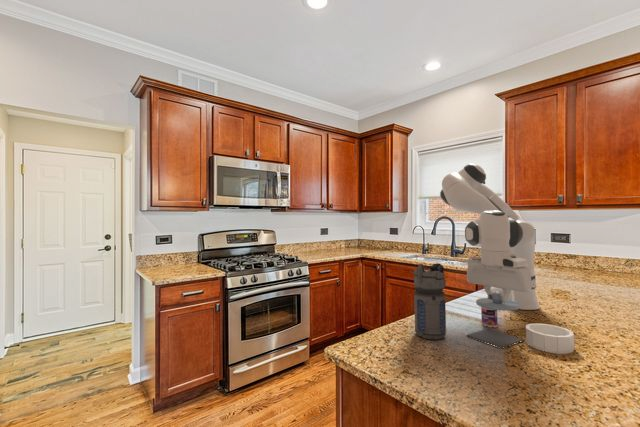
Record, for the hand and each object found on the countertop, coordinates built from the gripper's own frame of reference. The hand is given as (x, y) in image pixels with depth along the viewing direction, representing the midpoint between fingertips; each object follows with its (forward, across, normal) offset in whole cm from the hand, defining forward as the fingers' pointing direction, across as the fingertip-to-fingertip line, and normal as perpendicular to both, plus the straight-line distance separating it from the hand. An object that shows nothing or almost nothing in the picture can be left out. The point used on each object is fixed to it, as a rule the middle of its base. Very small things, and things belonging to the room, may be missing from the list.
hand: (497, 300), depth 104 cm
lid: (+1, 0, 0) cm, 1 cm away
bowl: (+13, +11, +8) cm, 19 cm away
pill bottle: (+13, -10, +11) cm, 20 cm away
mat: (+13, -1, -1) cm, 13 cm away
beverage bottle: (+13, -14, -15) cm, 25 cm away
